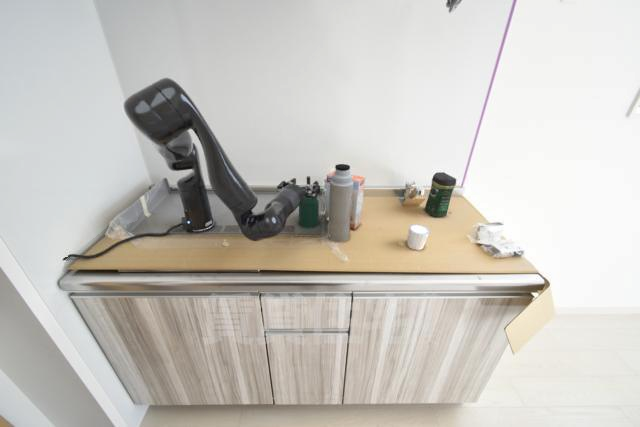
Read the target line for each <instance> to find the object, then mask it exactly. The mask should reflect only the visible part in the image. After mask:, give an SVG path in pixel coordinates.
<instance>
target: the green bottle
mask: <svg viewBox="0 0 640 427" xmlns="http://www.w3.org/2000/svg"><path fill="white" fill-rule="evenodd" d="M319 208H320V201H319V200H318V195H317V196H316V198H312V196H310V198H307V196H306V197H305V198H304V200H303V201H302V203H301V204H300V205H299V206H298V224H299V226H300V227H303V228H305V229H312V228H316V227H317V226H318V225H319V221H320V220H319V219H320V218H319V217H320V216H319V214H320V213H319V211H320V209H319Z"/></svg>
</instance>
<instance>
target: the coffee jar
mask: <svg viewBox="0 0 640 427" xmlns="http://www.w3.org/2000/svg"><path fill="white" fill-rule="evenodd" d="M456 185H457V178H456V177H453V176H452V175H450V174H447V173H446V172H445V171H443V172H441V171H440V172H436V173H434V174H433V176H432V179H431V186H430V190H429V193H428V197H427V200H426V203H425V206H424V210H425V212H427V213H428V214H429V215H430V216H432V217H437V218H443V217H446V216H447V215H448V210H449V206H450V202H451V199H452V194H453V192H454V189H455V188H456Z"/></svg>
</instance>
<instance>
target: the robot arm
mask: <svg viewBox="0 0 640 427" xmlns="http://www.w3.org/2000/svg"><path fill="white" fill-rule="evenodd" d="M122 106H123V111H124V113H125V115H126V117H127V119H128V120H129V121H130V123H131V124H132V126H133V127H134V128H135V129H136V130H137V131H138V132H139V133H140V134H141V135H142V136H143V137H145V138H146V139H147V140H148V141H149V142H150V143H151V145H152V146H153V148H154V149H155V151H156V152H157V153H158V154H159V156H161V157H162V159H163V161H164V163H165V165H166V166H167V168H168V169H169V170H170V171H173V172H180V171H181V172H182V171H189V170H190V172H189V173H188V174H186V175H185V176H182V177H180V178H179V179H178V180H177V181H176V188H177V191H178V194H179V198H180V201H181V204H182V209H183V213H184V216H182V217H181V222H180V223H178V224H176V225H173V226H172V227H170V228H169V229H167V231H165V232H162V233H150V232H148V233H147V232H146V233H141V234H137V235H133V236H130V237H127V238H124V239H122V240H120V241H117V242H115V243H113V244H112V245H110V246H109V247H107V248H106V249H104V250H102V251H100V252H98V253H95V254H91V255H83V254H75V253H71V254H67V255H68V257H65V256H64V257H65V258H64V257H63V258H62V261H66V260H68V259H69V258H78V259H93V258H96V257H100V256H102V255H104V254H106V253H108V252H109V251H110V250H112V249H114V248H115V247H117V246H118V245H121V244H123V243H126V242H128V241H131V240H134V239H138V238H141V237H142V238H143V237H148V236H149V237H163V236H166V235H168V234H169V233H170V232H172V231H173V230H174V229H177V228H179V227H181V226H182V229H183V231H186V230H188V231H189V233H202V232H206V231H209V230H210V229H212V228H214V226H215V220H214V217H213V212H212V208H211V203H210V200H209V195H208V191H207V190H208V189H207V186H206V182H205V179H204V175H203V170H202V163H201V157H200V152H199V149H198V146H197V145H196V143H195V142H193V137H192V135H191V133H190V132H189V130H192V131H193V132H194V134H195V135H196V137H197V139H198V140H199V143H200V145H201V148H202V150H203V155H204V160H205V166H206V173H207V177H208V181H209V185H210V187H211V189H212V191H213V193H214V194H215V195H216V197H217V198H218V199H219V200H220V201H221V202H222V203H223V204H224V206H225V207H226V208H227V209H228V210H229V211H230V212H231V214H232V216H233V218H234V221H235V222H236V224H237V226H238V228H239V230H240V232H241V233H242V235H243V236H244V237H245V238H246V239H248V240H250V241H252V242H260V241H263V240H267V239H271V238H274V237H277V236H279V235H280V234H281V233H282V232H283V231H284V229H285V226H286V224H287V220H288V218H289V217H290V216H291V215H292V214H293V213H294V212H295V211H296V210H297V209H298V208H299V205H300V204H301V203H302V201H303V200H304V198H305V197H306V196H308V195H309V196H312V198H316V196H317V197H318V196H319V195H320V194H321V185H319V184H320V183H319V181H318V180H315V181H314V182H313V183H312V184H310V185H309V184H307V183H306V184H301V185H299V184H297V178H295V177H293V178H292V179H290V180H288V181H286V180H282V181H281V182H280V183H279V184H278V185H277V186H276V192H277V193H276V194H275V195H274V196H273V198H272V199H270V200H269V201H268V202H267V203H266V205H265V207H264V209H263V211H260V212H256V213H255V212H254V211H253V209H254V208H255V207H256V205H257V204H258V202H259V199H258V196H257V195H256V193H255V192H254V190H253V189H252V188H251V186H250V185H249V184H248V183H247V182H246V181H245V179H244V178H243V177H242V175H241V174H240V173H239V171H238V169H236V166H234V164H233V163H232V161H231V159H230V158H229V156H228V154H227V153H226V150H224V147H223V146H222V144H221V142H220V141H219V139H218V138H217V136H216V134H215V133H214V131H213V130H212V129H211V127H210V125H209V123H208V122H207V120H206V119H205V117H204V116H203V114H202V113H201V111H200V109H199V108H198V106H197V105H196V104H195V102H194V100H193V99H192V98H191V96H190V95H189V94H188V93H187V91H186V90H185V89H184V88H183V87H182V86H181V85H180V84H179V83H178V82H176V81H175V80H174V79H173V78H169V77H163V78H161V79H158V80H156V81H155V82H153V83H151V84H149V85H146V86H145V87H144V88H141V89H140V90H138V91H136V92H134V93H132V94H130V95H129V96H128V97H127V98H126V99H125V100H124V102H123V105H122Z"/></svg>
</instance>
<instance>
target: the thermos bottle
mask: <svg viewBox="0 0 640 427" xmlns="http://www.w3.org/2000/svg"><path fill="white" fill-rule="evenodd" d="M334 168H335V170H334V171H335V173H334V174H333V177H332V180H331V181H330V203H329V221H328V230H327V233H329V234H327V235H328V238H329V240H331V241H334V242H336V243H337V242H338V243H342V242H345V241H347V240H348V239H349V238H350V230H351V228H350V218H351V206H352V195H353V184H354V183H353V181H352V175H353V174H351V170H350V169H351V165H349V164H346V163H338V164H335V166H334ZM329 235H330V236H329Z"/></svg>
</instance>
